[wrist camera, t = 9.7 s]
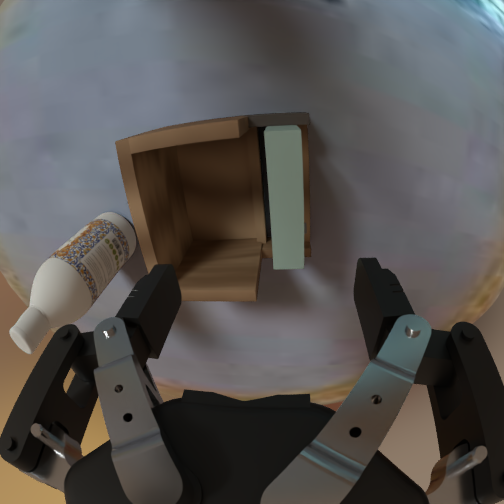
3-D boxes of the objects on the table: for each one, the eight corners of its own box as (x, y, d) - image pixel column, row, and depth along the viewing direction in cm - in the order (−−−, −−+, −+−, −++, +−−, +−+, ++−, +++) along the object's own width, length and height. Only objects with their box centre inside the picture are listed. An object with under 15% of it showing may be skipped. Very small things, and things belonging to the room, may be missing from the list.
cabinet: (165, 126, 26) (115, 141, 17) (305, 112, 24) (318, 115, 16) (187, 247, 33) (157, 299, 25) (308, 243, 31) (317, 299, 23)
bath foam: (114, 200, 31) (-1, 301, 14) (147, 242, 33) (59, 365, 16) (87, 228, 33) (-10, 323, 16) (117, 265, 36) (38, 374, 19)
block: (268, 123, 25) (263, 131, 17) (298, 122, 25) (307, 130, 17) (275, 224, 31) (273, 269, 23) (302, 223, 30) (309, 268, 22)
